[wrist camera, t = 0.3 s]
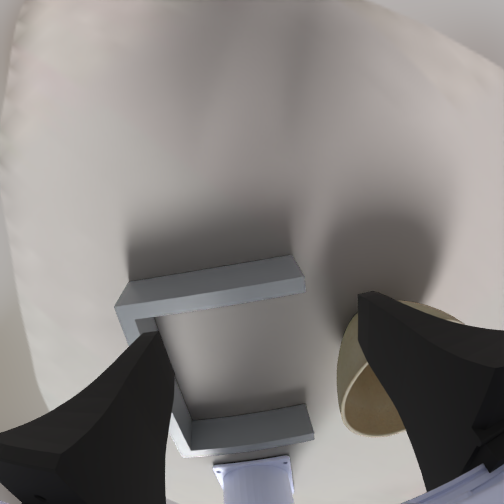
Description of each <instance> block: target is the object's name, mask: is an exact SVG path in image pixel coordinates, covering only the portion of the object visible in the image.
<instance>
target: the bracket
mask: <svg viewBox="0 0 504 504" xmlns="http://www.w3.org/2000/svg"><path fill="white" fill-rule="evenodd" d="M304 292H306V286H305V276H304V274H303V273H302V271H301V269H300V267H299V266H298V264H297V262H296V261H295V259H294V257H293V256H292V255H287V256H281V257H275V258H269V259H263V260H258V261H252V262H246V263H240V264H234V265H228V266H222V267H216V268H210V269H204V270H198V271H192V272H186V273H180V274H174V275H168V276H162V277H156V278H149V279H143V280H137V281H131V282H128V284H127V286H126V287H125V289H124V291H123V292H122V294H121V296H120V297H119V299H118V301H117V303H116V304H115V306H114V308H115V311H116V314H117V316H118V319H119V322H120V324H121V327H122V330H123V332H124V335H125V337H126V340H127V342H128V345H129V346H130V345H131V344H132V343H133V342H134V341H135V340H136V339H137V338H138V337H139V336H140V335H141V334H142V333H145V332H153V331H158V328H157V325H156V322H155V319H154V317H157V316H164V315H172V314H179V313H185V312H192V311H199V310H205V309H212V308H218V307H224V306H231V305H237V304H243V303H249V302H254V301H260V300H266V299H272V298H277V297H283V296H288V295H294V294H299V293H304ZM169 434H170V436H171V438H172V440H173V441H174V443H175V445H176V447H177V449H178V451H179V452H180V454H181V456H182V458H188V457H203V456H214V455H225V454H234V453H242V452H249V451H256V450H263V449H269V448H275V447H280V446H286V445H291V444H296V443H301V442H306V441H310V440H314V431H313V427H312V424H311V421H310V418H309V414H308V411H307V408H306V405H305V404H301V405H297V406H292V407H287V408H281V409H276V410H270V411H264V412H258V413H252V414H245V415H238V416H231V417H223V418H215V419H205V420H195V421H192V418H191V416H190V414H189V411H188V409H187V406H186V404H185V402H184V399H183V397H182V394H181V392H180V389H179V386H178V384H177V381H176V379H175V386H174V401H173V407H172V413H171V419H170V425H169Z"/></svg>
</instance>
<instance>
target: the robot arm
mask: <svg viewBox="0 0 504 504" xmlns="http://www.w3.org/2000/svg"><path fill="white" fill-rule="evenodd" d="M358 342H359V344H360V347H361V349H362V352H363V354H364V356H365V358H366V360H367V362H368V364H369V365H370V367H371V369H372V370H373V372H374V373H375V375H376V377H377V378H378V380H379V381H380V383H381V385H382V386H383V388H384V389H385V391H386V393H387V394H388V396H389V397H390V399H391V401H392V402H393V404H394V406H395V408H396V409H397V411H398V413H399V416H400V418H401V420H402V422H403V425H404V427H405V429H406V431H407V434H408V437H409V439H410V442H411V444H412V447H413V449H414V452H415V455H416V458H417V461H418V464H419V467H420V470H421V473H422V476H423V480H424V483H425V487H426V491H427V493H425V494H422V495H420V496H418V497H416V498H413V499H411V500H408V501H406V502H403V503H401V504H504V331H503V330H492V329H485V328H479V327H473V326H468V325H463V324H460V323H456V322H452V321H448V320H445V319H442V318H439V317H436V316H433V315H431V314H428V313H425V312H423V311H420V310H418V309H415V308H413V307H410V306H408V305H406V304H403V303H401V302H399V301H397V300H394V299H392V298H390V297H388V296H385V295H383V294H380V293H378V292H375V291H371V292H367V293H362V294H358ZM174 386H175V373H174V371H173V368H172V366H171V363H170V360H169V358H168V355H167V352H166V349H165V347H164V344H163V341H162V338H161V335H160V333H159V331H153V332H145V333H142V334H141V335H140V336H139V337H138V338H137V339H136V340H135V341H134V342H133V343H132V344H131V345H130V346H129V347H128V348H127V349H126V350H125V351H124V352H123V353H122V354H121V355H120V356H119V357H118V358H117V359H116V361H115V362H114V363H113V364H112V365H110V366H109V367H108V368H107V369H106V370H105V371H104V372H103V373H102V374H101V375H100V376H99V377H98V378H97V379H96V380H94V381H93V382H92V383H91V384H90V385H89V386H87V387H86V388H85V389H84V390H82V391H81V392H80V393H78V394H77V395H76V396H74V397H73V398H71V399H70V400H68V401H67V402H65V403H64V404H62V405H60V406H59V407H57V408H56V409H54V410H52V411H51V412H49V413H47V414H45V415H43V416H41V417H39V418H37V419H35V420H33V421H31V422H28V423H26V424H24V425H21V426H18V427H16V428H13V429H11V430H8V431H5V432H1V433H0V483H1V484H2V485H4V486H5V487H6V488H7V489H8V490H9V491H10V492H11V493H12V494H13V495H14V496H15V497H17V498H18V499H19V500H20V501H21V502H22V504H166V497H165V453H166V444H167V438H168V432H169V425H170V419H171V413H172V407H173V401H174ZM213 471H214V473H215V475H216V477H217V479H218V481H219V483H220V485H221V487H222V489H223V491H224V504H294V500H293V495H292V494H293V493H294V487H293V479H292V471H291V464H290V457H289V456H286V455H285V456H279V457H273V458H267V459H261V460H254V461H247V462H239V463H230V464H220V465H214V466H213ZM0 504H9V503H6V502H3V501H1V500H0Z"/></svg>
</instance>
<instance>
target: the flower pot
mask: <svg viewBox="0 0 504 504" xmlns="http://www.w3.org/2000/svg"><path fill="white" fill-rule="evenodd" d="M397 301H399V302H401V303H403V304H406V305H408V306H410V307H413V308H415V309H418V310H420V311H423V312H425V313H428V314H431V315H433V316H436V317H439V318H442V319H445V320H448V321H452V322H456V323H460V324H463V325H465V324H464V323H462V322H461V321H459V320H458V319H456V318H455V317H453V316H451V315H449V314H447V313H445V312H443V311H441V310H438V309H436V308H433V307H431V306H427V305H424V304H420V303H416V302H410V301H401V300H397ZM337 392H338V402H339V408H340V413H341V417H342V420H343V422H344V424H345V426H346V427H347V428H348V429H349V430H350V431H352V432H353V433H355V434H358V435H360V436H364V437H387V436H391V435H395V434H399V433H401V432H404V431H406V429H405V427H404V425H403V422H402V420H401V418H400V416H399V413H398V411H397V409H396V408H395V406H394V404H393V402H392V401H391V399H390V397H389V396H388V394H387V393H386V391H385V389H384V388H383V386H382V385H381V383H380V381H379V380H378V378H377V377H376V375H375V373H374V372H373V370H372V369H371V367H370V365H369V364H368V362H367V360H366V358H365V356H364V354H363V352H362V349H361V347H360V344H359V342H358V313H357V314H356V315H355V316H354V317H353V318H352V319H351V321H350V323H349V325H348V327H347V329H346V331H345V333H344V336H343V339H342V342H341V346H340V351H339V356H338V364H337Z"/></svg>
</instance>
